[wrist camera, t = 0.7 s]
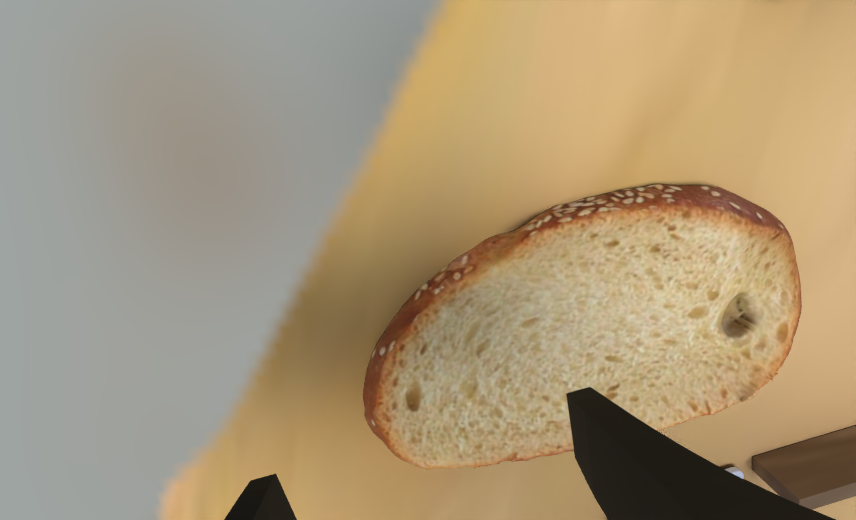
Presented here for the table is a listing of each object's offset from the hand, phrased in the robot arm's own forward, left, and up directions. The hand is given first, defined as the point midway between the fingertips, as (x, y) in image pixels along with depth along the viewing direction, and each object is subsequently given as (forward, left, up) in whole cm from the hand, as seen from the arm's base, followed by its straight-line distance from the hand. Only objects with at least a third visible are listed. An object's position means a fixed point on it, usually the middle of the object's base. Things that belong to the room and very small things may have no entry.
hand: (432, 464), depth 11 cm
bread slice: (-4, -8, -10) cm, 14 cm away
